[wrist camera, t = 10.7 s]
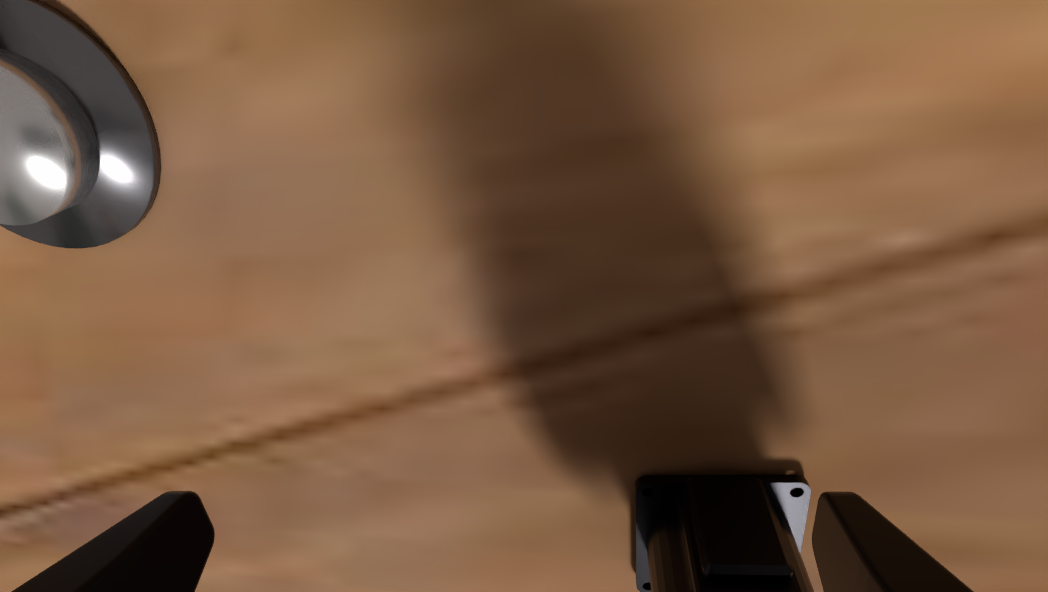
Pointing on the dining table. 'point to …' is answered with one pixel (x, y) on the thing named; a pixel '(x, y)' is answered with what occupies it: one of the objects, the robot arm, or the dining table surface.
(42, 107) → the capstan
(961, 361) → the dining table surface
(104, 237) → the foot base
